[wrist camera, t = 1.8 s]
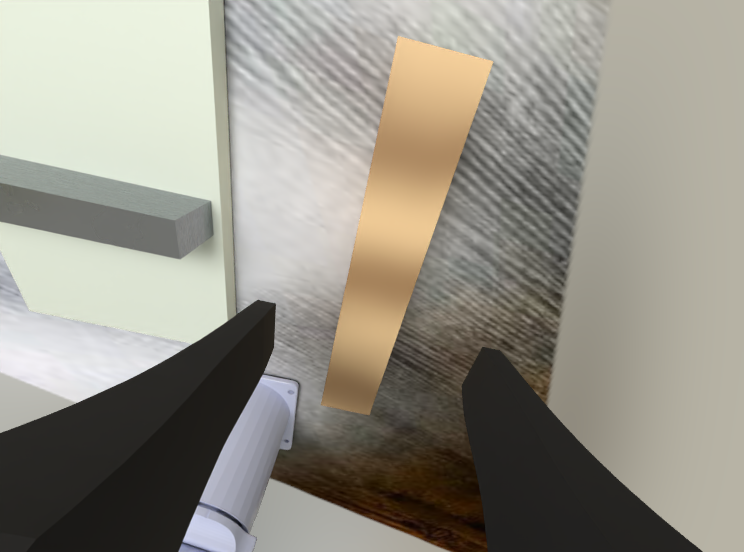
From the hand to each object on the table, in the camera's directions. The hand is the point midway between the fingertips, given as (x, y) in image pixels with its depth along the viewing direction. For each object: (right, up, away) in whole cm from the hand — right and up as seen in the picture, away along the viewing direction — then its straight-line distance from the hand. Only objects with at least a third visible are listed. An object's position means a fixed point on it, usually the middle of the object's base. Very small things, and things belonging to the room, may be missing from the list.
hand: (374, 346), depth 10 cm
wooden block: (+1, +4, +8) cm, 9 cm away
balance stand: (-15, +8, +7) cm, 18 cm away
